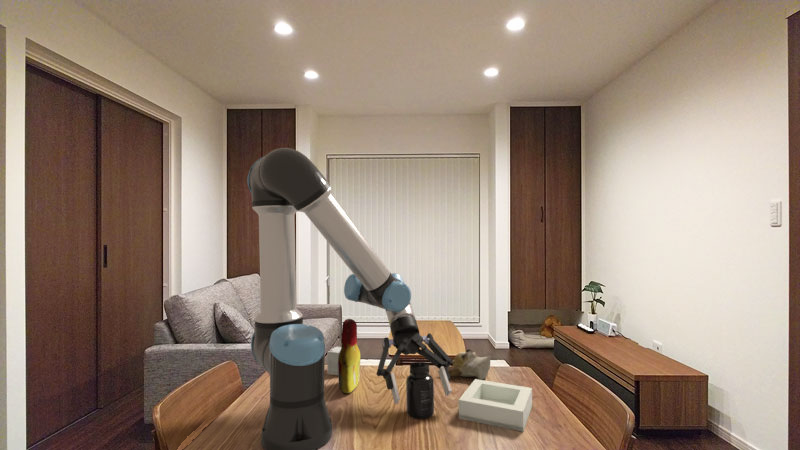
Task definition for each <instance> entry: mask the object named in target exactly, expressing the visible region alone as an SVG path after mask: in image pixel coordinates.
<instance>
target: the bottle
mask: <svg viewBox="0 0 800 450" xmlns="http://www.w3.org/2000/svg"><path fill="white" fill-rule="evenodd" d="M341 328H342V329H341V341H340V342H341V343H340V344H341V346H340V347H341V350H340V353H339V357H338V373H339V375H338V385H339V389H340V390H341V392H342V393H345V394H351V393H352V392H353V391H354V390H355V389H356V388H357V386H358V385H359V382H360V379H361V375H360V374H361V373H360V372H361V351H360V348H359V347H358V332H357V331H358V325H357V322H356V320H355V319H352V318H347V319H345V320H344V321H343V322H342V327H341Z"/></svg>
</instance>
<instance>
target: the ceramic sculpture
mask: <svg viewBox="0 0 800 450" xmlns="http://www.w3.org/2000/svg"><path fill="white" fill-rule="evenodd" d="M451 364H452V365H451V366H449V367H447V369H448V372H449V375H450V377H452V376H453V377H457V376H460V377H464V378H471V377H476V379H478V380H486V378H487V376H488V373H489V371H490V369H491V356H490V355H489V356H484V357H480V356H478V355H477V353H476V352H474V350H471V349H469V348H467V349H466V352H464V351H461V352H459V353H457V354H456V356H455V357H454V358H453V360H452V363H451Z"/></svg>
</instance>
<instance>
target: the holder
mask: <svg viewBox="0 0 800 450" xmlns="http://www.w3.org/2000/svg"><path fill="white" fill-rule="evenodd" d="M532 406H533V388H532V387H527V386H521V385H515V384H508V383H504V382H503V383H502V382H498V381H497V382H495V381H491V380H485V379H483V380H479V379H478V378H475V379H474V380H473V381H472V382H471V383H470V385H469V386H468V388H467V389H466V390H465V391H464V393H463V394H462V395H461V396H460V397H459V399H458V420H459V419H460V420H464V421H467V422H469V421H470V422H474V423H478V424H479V423H480V424H484V425H489V426H492V427H497V428H502V429H503V428H504V429H508V430H511V431H512V430H513V431H516V432H517V431H518V432H522V433H523V432H525V428H526V426H527V422H528V419H529V416H530V413H531V410H532V408H533V407H532Z"/></svg>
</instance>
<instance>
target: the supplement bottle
mask: <svg viewBox="0 0 800 450" xmlns="http://www.w3.org/2000/svg"><path fill="white" fill-rule="evenodd" d="M409 373H410V374H409V375H408V376H407V377H406V381H405V384H406V385H405V390H406V391H405V392H406V394H405V396H406V414H407V416H409V417H410V418H412V419H416V420H425V419H430V418H431V417H433V415H435V394H434V393H435V392H434V391H435V389H434V378H433V376H432V375H431V374H430V365H429V363H427V362H425V361H424V362H423V361H417V362H412V363H410V365H409Z"/></svg>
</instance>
